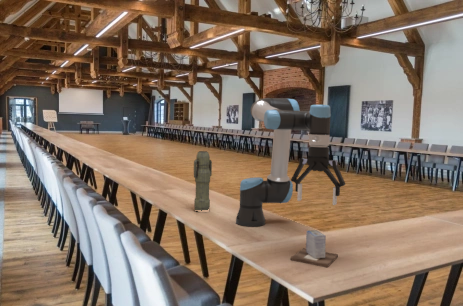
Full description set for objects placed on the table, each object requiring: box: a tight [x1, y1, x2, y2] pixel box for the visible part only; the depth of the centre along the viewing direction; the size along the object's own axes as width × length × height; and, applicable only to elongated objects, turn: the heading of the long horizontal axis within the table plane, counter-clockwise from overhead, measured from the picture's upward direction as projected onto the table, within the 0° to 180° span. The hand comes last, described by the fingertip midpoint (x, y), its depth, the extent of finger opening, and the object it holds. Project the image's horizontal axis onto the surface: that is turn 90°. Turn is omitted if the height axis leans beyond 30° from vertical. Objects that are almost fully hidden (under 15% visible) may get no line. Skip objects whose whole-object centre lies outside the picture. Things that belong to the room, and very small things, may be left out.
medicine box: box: [305, 229, 327, 258], centre depth 150 cm, size 8×4×9 cm, turn 14°
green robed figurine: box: [193, 150, 213, 211], centre depth 231 cm, size 9×12×35 cm
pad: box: [290, 247, 339, 268], centre depth 150 cm, size 14×14×1 cm
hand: (316, 202), depth 149 cm, fingers open, 13 cm apart
